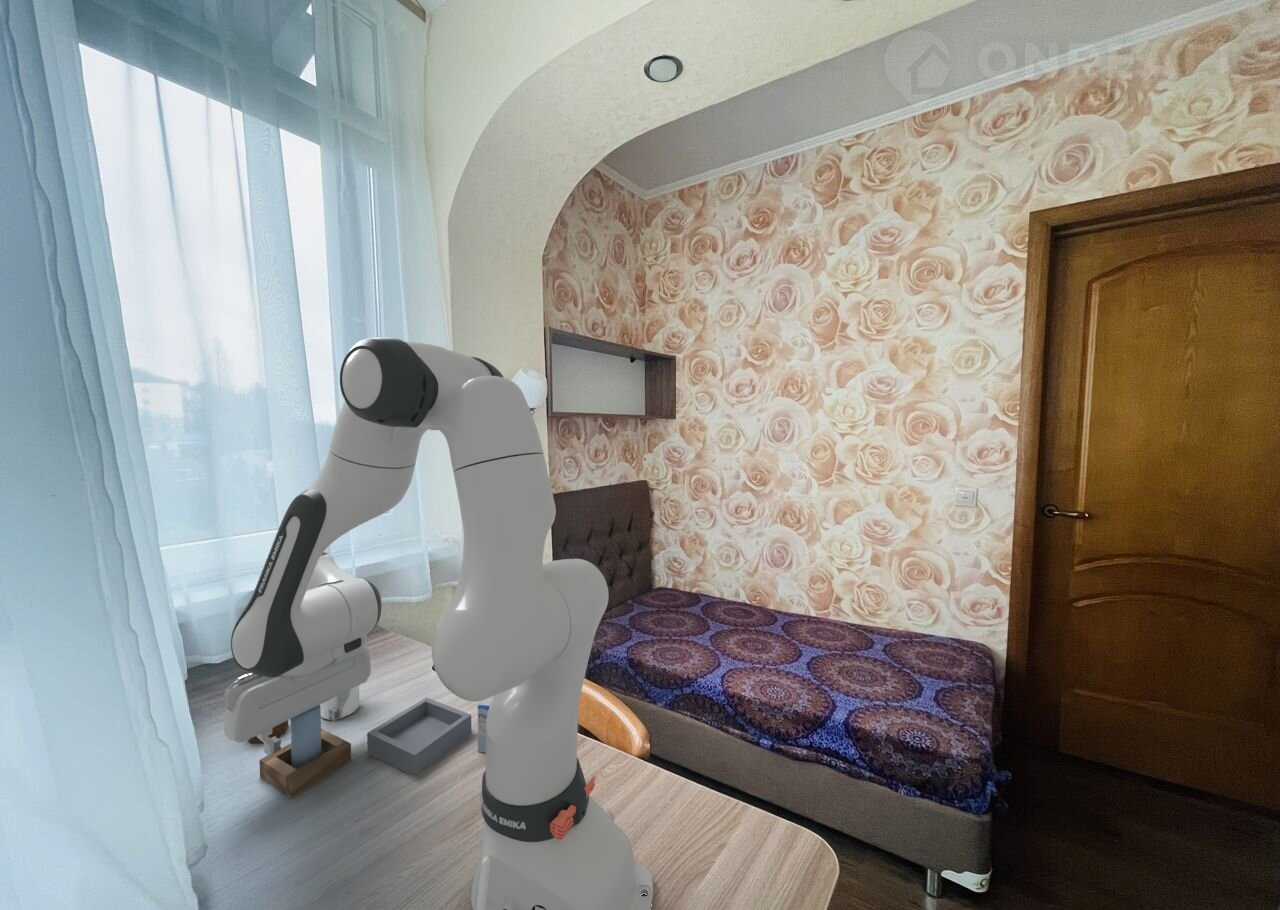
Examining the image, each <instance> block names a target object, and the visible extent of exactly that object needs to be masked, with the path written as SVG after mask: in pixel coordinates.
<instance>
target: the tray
mask: <svg viewBox="0 0 1280 910" xmlns="http://www.w3.org/2000/svg"><path fill="white" fill-rule="evenodd" d="M470 734H472V714H470V713H468V712H466V711H463V710H460V709H457V708H455V707H452V706H449V705H447V704H445V703H442V702H440V701H437V700H434V699H432V698H429V697H427V696H426V697H424V698H423V699H422V700H419V701H418V702H416V703H414V704H413V705H411V706H410V707H408V708H406V709H405V710H403V711H402V712H399V713H398V714H396V715H395V716H393V717H391V718H389V719H387V720H386V721H385V722H383V723H381V724H380V725H378V726H377V727H375V728H373V729H371V730H369V731H367V733H366V736H367V737H366V738H367V739H366V741H367V742H366V743H367V745H366V746H367V750H366V751H367V754H370V755H372V756H374V757H375V758H378V759H379V760H382V761H384V762H385V763H388V764H390V765H392V766H394V767H396V768H398V769H400V770H402V771H404V772H406V773H407V774H410V775H412V776H414V777H415V776H416V775H418V774H419V773H421V772H422V771H423V770H424V769H426V768H427V767H429V766H430V765H431V764H433V763H434V762H435V761H437V760H438V759H439V758H440V757H442V756H443V755H444V754H445V753H447V752H448V751H450V750H451V749H452V748H454V747H455V746H456V745H458V744H459V743H460V742H462V741H463V740H464V739H465V738H467V737H468V736H470Z"/></svg>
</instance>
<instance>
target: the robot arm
mask: <svg viewBox="0 0 1280 910" xmlns="http://www.w3.org/2000/svg"><path fill="white" fill-rule="evenodd" d="M339 386H340V391H341V394H342V397H343V400H344V402H343V403H342V406H341V408H340V411H339V414H338V417H337V419H336V423H335V424H334V425H335V426H334V428H333V432H332V436H331V439H330V444H329V449H328V453H327V455H326V456H327V457H326V458H325V461H324V464H323V465H322V467H321V469H320V470H319V472H318V474H317V475H316V477H315V478H314V480H313V481H312V482H311V483H310V485H309V486H308V487H307V488H306V489H305V490H304V491H302V492H301V493H300V494H299V495H297V496H296V497H294V499H293V500H292V501H291V502H290V504H289V506H288V508H287V510H286V511H285V514H284V516H283V517H282V520H281V523H280V525H279V528H278V530H277V533H276V535H275V536H274V540H273V542H272V545H271V548H270V550H269V552H268V555H267V558H266V561H265V562H264V566H263V568H262V570H261V573H260V574H259V575H260V576H259V577H258V581H257V584H256V586H255V588H254V591H253V593H252V595H251V598H250V600H249V601H248V603H247V605H246V606H245V608H244V610H243V611H242V612H241V614H240V616H238V617H239V618H238V620H237V621H236V623H235V626H234V628H233V630H232V633H231V639H230V647H231V648H230V649H231V655H232V658H233V660H234V662H235V664H236V665H237V667H239V669H241V670H243V671H245V672H247V673H246V674H242V675H241V676H238V677H237V678H236V679H235V681H234V682H232V683H231V684H229V686H228V687H227V688H226V689H225V691H224V707H225V714H224V723H223V734H224V736H225V737H226V738H228V739H229V740H231V741H233V742H234V743H235V742H236V743H239V744H241V743H245V742H247V741H249V739H251V738H253V737H255V736H256V737H258V738H259V739H260V740H261V741H262V742H261V743H263V751H264V753H265V755H266V756H268V755H269V756H270V755H272V754H274V753H275V752H277V751H279V750H280V749H281V748H282V747H281V744H282V741H281V739H280V738H278V737H275V736H274V737H272V738H270V737H268V735H271V734H272V728H273V727H275V726H277V725H279V724H281V723H283V722H285V721H287V720H288V721H289V720H290V719H291V718H293V717H295V716H297V715H300V714H302V713H304V712H306V711H308V710H310V709H312V708H314V707H316V706H318V705H320V706H321V704H322V703H324V702H326V701H328V700H330V699H332V698H334V697H336V696H337V697H336V700H335V702H334V704H333V707H331V708H329V709H328V713H329V714H328V718H329V719H330V720H329V721H332V722H334V721H337V720H339V719H338V718H340V717H342V716H343V707H344V705H345V703H346V701H347V699H348V697H349V690H350V689H352V688H354V687H356V686H358V685H359V686H361V685H362V684H364V683H367V681H368V679H370V678H369V677H371V673H372V667H371V665H372V664H371V655H370V651H369V649H368V647H366V645H367V643H368V642H367V641H368V636H367V635H368V634H369V633H371V632H373V630H374V629H375V628H376V626H377V625H378V624H379V621H380V619H381V616H382V615H381V614H382V606H383V605H382V597H381V593H380V591H379V589H378V588H377V587H376V585H375V584H373V583H372V582H371V581H370V580H367V579H366V578H364V577H358V576H357V577H356V576H354V575H352V574H350V573H348V572H346V571H345V570H343V569H342V568H340V567H339V566H338V565H337V564H336V561H335V559H334V558H333V557H334V556H333V555H332V554H330V553H329V552H325V551H326V550H327V548H329V546H331V545H332V544H333V543H334V542H335V541H336V540H338V539H339V538H340V537H342V536H343V535H346V534H347V533H348V532H350V531H351V530H353V529H355V528H358V527H359V526H361V525H363V524H365V523H367V522H369V521H371V520H373V519H375V518H377V517H380V516H382V515H383V514H386V513H387V512H389V511H390V510H392V509H393V508H395V506H397V505H398V504H399V503H401V501H402V500H403V499H404V497H405V495H406V493H407V491H408V490H409V488H410V485H411V483H412V480H413V476H414V472H415V467H416V462H417V459H418V453H419V448H420V444H421V440H422V437H423V435H424V434H425V433H426V432H427V431H428V430H431V431H440V432H441V433H442V434H443V436H444V438H445V440H446V443H447V446H448V451H449V456H450V462H451V463H450V464H451V468H452V472H453V478H454V482H455V487H456V492H457V493H456V494H457V498H458V503H459V509H460V510H459V511H460V515H461V517H460V518H461V523H462V531H463V552H462V561H461V567H460V573H459V577H458V580H457V584H456V587H455V591H454V593H453V596H452V598H451V600H450V603H449V604H448V606H447V607H446V610H445V611H444V613H443V615H442V617H440V618H439V619H440V620H439V621H438V623H436V627H435V629H434V632H433V636H432V640H431V659H432V663H433V668H434V671H435V673H436V675H437V678H439V680H440V681H441V683H442V685H443V686H444V687H445V688H446V689H447V690H448V691H450V692H451V693H452V694H453V695H455V696H456V697H458V698H460V699H462V700H464V701H468V702H482V701H483V700H484V699H487V698H490V697H492V696H495V697H494V698H493V700H492V702H491V705H490V707H489V710H488V713H487V718H486V753H485V770H484V771H483V775H482V779H481V794H480V802H481V815H482V817H483V821H484V822H483V829H482V838H481V845H480V846H481V847H480V852H479V858H478V863H477V867H476V871H475V874H474V877H473V880H472V884H471V891H470V901H471V902H470V903H471V907H472V910H650V908H651V904H652V900H653V901H654V881H653V875H652V872H651V871H650V870H649V869H648V868H647V867H646V866H644V865H643V864H641V863H640V862H639V861H637V860H636V859H635V857H634V851H633V847H632V844H631V841H630V839H629V837H628V835H627V834H626V833H625V831H623V830H622V828H620V826H619V825H618V824H617V823H616V822H615V817H614V814H613V812H612V810H611V809H610V808H608V807H602V806H600V804H599V803H598V802H597V801H596V799H595V798H594V797H593V796H592V795H591V793H592V791H594V788H595V786H596V782H595V780H596V776H595V775H594V776H592V777H591V779H590V780H589V781H588V782H587V781H586V777H585V775H584V773H583V769H582V767H581V764H580V760H579V758H578V730H579V729H578V728H579V726H578V725H579V709H580V708H579V707H580V701H581V695H582V689H583V686H584V681H585V676H586V672H587V668H588V662H589V659H590V655H591V652H592V647H593V643H594V639H595V636H596V632H597V631H598V627H599V625H600V622H601V620H602V618H603V616H604V614H605V612H606V610H607V607H608V603H609V596H610V595H609V594H610V593H609V588H608V584H607V580H606V579H605V576H604V574H603V573H602V572H601V570H600V569H599V568H598V567H597V566H596V565H595V564H593V563H592V562H590V561H588V560H586V559H583V558H565V559H558V560H551V561H549V562H546V563H544V550H545V543H546V539H547V537H548V533H549V531H550V529H551V527H553V524H554V522H555V518H556V513H557V511H556V510H557V509H556V503H555V500H554V494H553V490H552V486H551V481H550V480H551V479H550V477H549V472H548V468H547V467H548V466H547V464H546V463H547V462H546V459H545V454H544V449H543V445H542V442H541V438H540V434H539V431H538V428H537V424H536V422H535V418H534V417H533V413H532V412H531V411H532V410H531V408H530V406H529V404H528V401H527V399H526V396H525V395H524V393H523V391H522V389H521V388H520V386H519V385H518V384H516V383H515V382H514V381H512V380H511V379H508V378H505V377H504V375H503V374H502V372H500V370H499V369H498V368H496V366H494V365H493V364H491V363H489V362H487V361H485V360H484V359H481V358H480V357H475V356H468V355H466V354H462V353H460V352H458V351H454V350H450V349H446V348H445V347H443V346H438V345H434V344H428V343H424V342H423V343H422V342H415V341H404V340H402V339H399V338H397V337H369V338H364V339H361V340H359V341H358V342H356V343H355V344H354V345H352V347H351V348H350V349H349V351H348V352H347V353H346V355H345V356H344V359H343V361H342V364H341V367H340V371H339ZM543 563H544V564H543ZM336 719H337V720H336ZM642 893H646V894H647V896H646V895H643V896H642V895H641V894H642Z"/></svg>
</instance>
